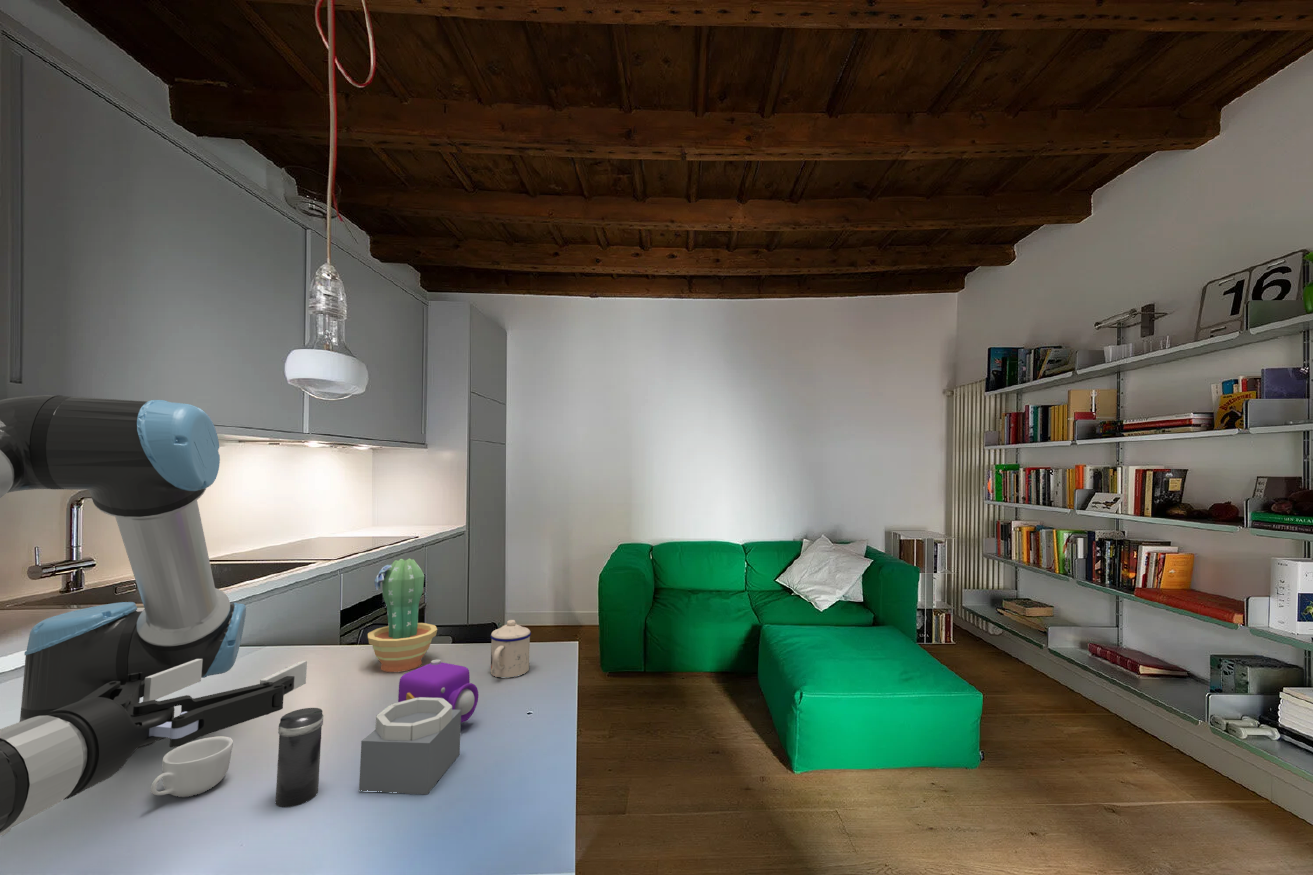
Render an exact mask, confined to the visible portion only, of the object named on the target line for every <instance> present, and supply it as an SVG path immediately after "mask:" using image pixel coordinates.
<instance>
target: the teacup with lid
mask: <svg viewBox="0 0 1313 875" xmlns="http://www.w3.org/2000/svg"><path fill="white" fill-rule="evenodd" d="M531 635H532V632H531V630H530V629H529V628H528V627H525V626H522V625H520V624H517V621H516V620H515V619H509V620H507V622H506V624H504V625H502V626H501V627H499V628H497V629H495V630H493V631H492V632H491V634H490V638H491V644H490V646H491V648H490V674H491V676H493V677H494V676H495V678H497V677H513V676H518V675H522V674H524V673H526V672H527V671H528V672H529V671H530V648H531V647H530V642H531V641H530V640H531ZM528 672H527V673H528ZM527 673H526V674H527ZM524 675H525V674H524ZM522 676H523V675H522Z"/></svg>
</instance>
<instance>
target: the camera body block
mask: <svg viewBox="0 0 1313 875" xmlns="http://www.w3.org/2000/svg"><path fill="white" fill-rule="evenodd" d="M461 726H462V722H461V710H452V705H451V704H450V703H448V702H447V701H446V700H445V699H443V698H426V697H419V698H413V699H410V700H406V701H402V702H398V701H397V702H395V703H392V704H389V705H388V706H386V708H383V710H381V711H380V712H379V713H378V714H377V715H376V717H375V729H374V730H373V731H372V732H371V733H369V734H368V735H366V736H365V737H364V738H363V739H362V740H361V741H360V742H361V743H360V764H359V783H358V791H359V790H360V791H361V790H362V791H367V790H368V791H377V792H378V791H379V792H380V791H382V792H392V793H391V794H394V793H393V792H397V793H396V794H400V793H405V794H406V795H407V794H408V795H428V794H429V793H430V791H431V790H432V789H433V788H434V787H435V786H436V784H437V783H438V782H439V781H440V779H441V778H442V777H443V776H444V774H446V772H447V771H448V770H449V768H450V767H451V766H452V765H453V763H454V762H455V761H456V760H457V758H458V757H459V756H460V754H461V728H462V727H461ZM455 759H456V760H455ZM451 764H452V765H451ZM447 769H448V770H447ZM442 775H443V776H442ZM438 780H439V781H438ZM437 781H438V782H437ZM405 794H404V795H405Z"/></svg>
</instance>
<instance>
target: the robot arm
mask: <svg viewBox="0 0 1313 875" xmlns="http://www.w3.org/2000/svg"><path fill="white" fill-rule="evenodd" d="M219 449H220V441H219V437H218V432H217V430H216V428H215V424H214V423H213V420H212V419H211V417H210V415H208V414H207V412H205V411H204V410H203V409H202V408H200V407H198V406H195V405H193V404H190V403H184V402H183V403H182V402H173V401H172V402H171V401H168V400H164V399H152V400H148V401H146V400H145V401H144V400H131V399H116V398H115V399H113V398H98V397H97V398H96V397H83V396H64V395H59V394H56V395H54V394H53V395H51V394H36V395H24V396H16V397H10V398H4V399H0V499H2V498H3V497H4V496H5V495H6V494H8V493H12V492H20V491H29V490H31V491H32V490H33V491H34V490H67V491H68V490H70V491H72V490H73V491H74V490H79V491H80V490H84V491H85V490H87V491H88V492H89V494H90V497H91V499H92V502H93V505H94V506H95V507H96V509H98V510H99V511H100V512H101V513H104V514H105V515H108V516H112V517H115V520H116V524H117V528H118V530H119V532H120V537H121V539H122V540H121V541H122V542H123V544H124V549H125V551H126V555H127V558H128V561H129V564H130V568H131V571H132V573H133V577H134V579H135V583H136V585H137V586H136V587H137V589H138V593H139V596H140V599H141V603H142V605H143V608H144V609H143V610H141V611H139V610H138V606H137V604H136V603H135V602H133V601H128V602H127V601H125V602H123V601H121V602H113V603H108V604H107V603H106V604H100V605H95V606H91V607H85V608H82V609H81V608H80V609H77V610H72V611H68V612H64V613H61V614H60V613H59V614H57V615H54V616H50V617H47V618H45V619H43V620H41V621H40V622H38V623H36V624H35V625H33V627H32V628H31V630H30V631H29V634H28V642H27V646H26V651H24V656H25V659H24V670H23V671H24V672H23V681H22V682H23V683H22V694H21V703H20V704H21V707H20V716H19V721H18V722H16V723H13V724H10V725H8V726H5V727H3V728H0V836H4V835H6V834H8V833H9V832H10V831H11V829H12V827H15V826H17V825H19V824H21V823H22V822H25V821H26V820H28V819H31V818H32V817H34V816H36V815H39V814H40V813H42V812H44V811H46V810H47V809H48V810H49V809H50V808H52V807H54V806H56V805H58V804H59V803H62V801H64V800H68V799H70V798H73V797H75V796H77V795H79V794H80V793H82V792H84V791H87V790H88V789H90V788H92V787H95V786H96V785H98V784H101V783H102V782H104V781H107V780H108V779H109V778H111V777H113V776H114V775H115V774H117V773H118V772H119V771H120V770H121V769H122V768H123V767H124V765H125V764H126V763H127V761H128V760H129V759H130V757H131V756H132V754H133V753H135V751H136V750H137V749H141V748H145V747H148V746H152V745H153V744H154V743H156V742H157V741H161V740H166V739H169V747H170V748H177V747H179V746H181V745H184V744H186V743H189V742H192V741H196V740H198V739H199V738H201V737H204V736H207V735H210V734H214V733H215V732H218V731H221V730H224V729H228V728H231V727H234V726H237V725H240V724H243V723H245V722H248V721H251V720H255V719H257V718H260V717H263V716H267V715H270V714H272V713H275V712H279V711H282V709H284V696H285V695H287V694H289V693H291V692H292V691H294V690H296V689H298V688H300V687H302V686H303V685H305V684H307V669H308V668H307V667H308V666H307V665H308V661H307V660H300V661H299V662H295V663H294V664H292V665H290V666H288V667H285V668H283V669H281V670H279V671H277V672H275V673H273V674H270V675H268V676H266V677H264V678H261V679H260V680H259V683H258V684H253V685H249V686H248V685H247V686H244V687H239V688H236V689H235V688H234V689H232V690H226V691H221V692H217V693H213V694H209V695H205V696H200V697H192V696H191V695H189V694H188V695H187V694H186V695H182V696H176V697H173V698H168V699H164V700H163V699H162V700H159V699H161V698H163V697H166V696H168V695H171V694H173V693H175V692H179V691H180V690H183V689H185V688H187V687H191V686H192V685H195V684H197V683H200V682H202V679H205V678H207V677H209V676H210V677H211V676H215V675H220V674H221V675H222V674H225V673H227V672H229V671H230V670H231V669H232V668H233V666H234V665H235V662H236V660H237V657H238V654H239V651H240V650H239V649H240V647H241V646H240V645H241V643H242V637H243V633H244V628H245V627H244V626H245V622H246V614H247V607H246V605H245V604H244V603H237V602H232V603H231V602H230V599H229V596H228V595H227V594H226V593H225V592H224V591H222V590H221V589H219V588H216V586H215V580H214V576H213V571H212V565H211V563H210V558H209V553H208V548H207V543H206V537H205V532H204V527H203V523H202V518H201V513H200V509H199V504H198V500H199V499H200V498H201V497H202V496H203V495H204V493H205V492H206V490H207V488H209V487H211V485H213V484H214V482H215V481H216V479H217V476H218V473H219V470H220V463H221V462H220V461H221V458H220V453H219ZM141 698H142V702H140V701H141ZM177 706H178V707H179V706H181V708H180V713H179V715H177V716H175V710H176V709H175V707H177Z"/></svg>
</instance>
